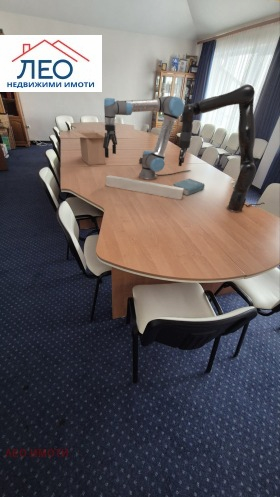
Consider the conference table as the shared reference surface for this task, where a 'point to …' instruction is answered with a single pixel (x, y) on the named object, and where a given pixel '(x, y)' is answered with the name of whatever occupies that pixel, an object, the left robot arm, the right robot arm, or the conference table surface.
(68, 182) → the conference table surface
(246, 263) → the conference table surface
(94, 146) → the box
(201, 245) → the conference table surface
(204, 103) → the right robot arm
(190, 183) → the book
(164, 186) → the bar
